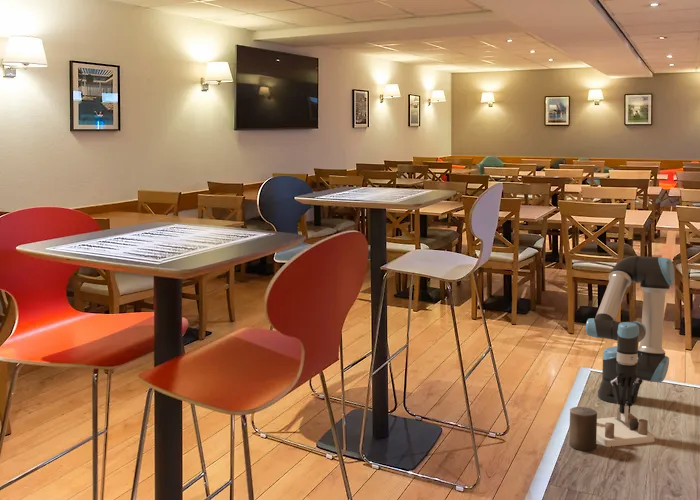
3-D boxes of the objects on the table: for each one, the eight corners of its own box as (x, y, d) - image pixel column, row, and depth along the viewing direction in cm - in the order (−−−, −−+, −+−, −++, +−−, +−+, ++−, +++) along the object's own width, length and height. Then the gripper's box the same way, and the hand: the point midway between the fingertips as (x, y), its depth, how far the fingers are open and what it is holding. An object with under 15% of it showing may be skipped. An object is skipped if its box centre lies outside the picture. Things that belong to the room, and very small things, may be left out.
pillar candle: (596, 452, 241) (597, 413, 239) (568, 449, 245) (569, 410, 243) (596, 442, 250) (597, 404, 249) (569, 439, 254) (570, 401, 252)
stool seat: (623, 422, 269) (623, 404, 268) (654, 441, 249) (655, 423, 248) (578, 426, 265) (578, 408, 264) (606, 447, 246) (607, 427, 245)
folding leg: (615, 417, 266) (615, 407, 266) (623, 417, 267) (624, 407, 266) (629, 430, 254) (630, 419, 253) (638, 429, 254) (639, 419, 254)
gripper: (617, 366, 250) (614, 425, 253) (648, 364, 252) (645, 423, 255) (606, 360, 257) (603, 418, 260) (636, 358, 259) (633, 416, 262)
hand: (624, 420), depth 257 cm, fingers closed
